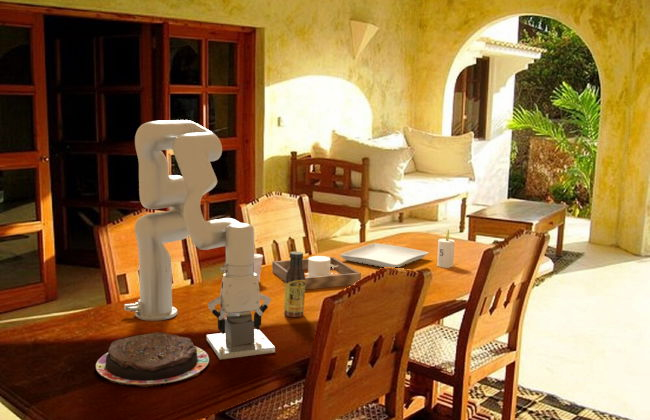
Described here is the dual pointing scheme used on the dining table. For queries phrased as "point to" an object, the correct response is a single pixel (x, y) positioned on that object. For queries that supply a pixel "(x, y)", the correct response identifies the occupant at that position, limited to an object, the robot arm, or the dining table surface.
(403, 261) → the square plate
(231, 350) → the shaft base
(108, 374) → the chocolate cake
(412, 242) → the dining table surface
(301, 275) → the sauce bottle
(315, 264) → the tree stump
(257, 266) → the smoothie
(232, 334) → the knob
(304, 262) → the frame
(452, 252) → the candle
